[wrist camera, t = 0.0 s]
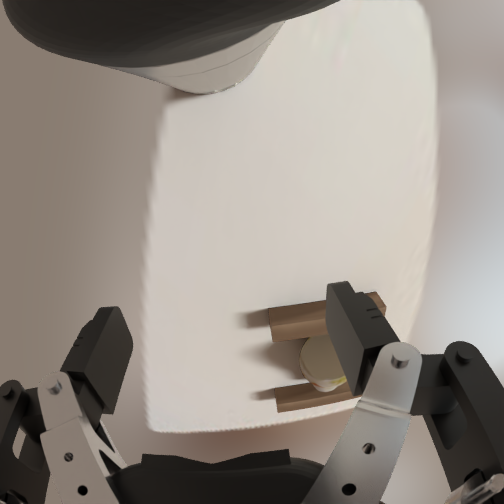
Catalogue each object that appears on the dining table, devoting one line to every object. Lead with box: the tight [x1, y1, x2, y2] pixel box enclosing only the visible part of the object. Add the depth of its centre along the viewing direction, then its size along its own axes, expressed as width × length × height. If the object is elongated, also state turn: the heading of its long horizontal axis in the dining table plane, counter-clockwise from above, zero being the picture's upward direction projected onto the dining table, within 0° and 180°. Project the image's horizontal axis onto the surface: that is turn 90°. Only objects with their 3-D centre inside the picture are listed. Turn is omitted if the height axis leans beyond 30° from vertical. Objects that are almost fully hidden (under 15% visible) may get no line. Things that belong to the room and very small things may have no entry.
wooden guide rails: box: [268, 292, 386, 413], centre depth 36 cm, size 18×13×3 cm
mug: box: [299, 334, 347, 392], centre depth 34 cm, size 8×10×10 cm
